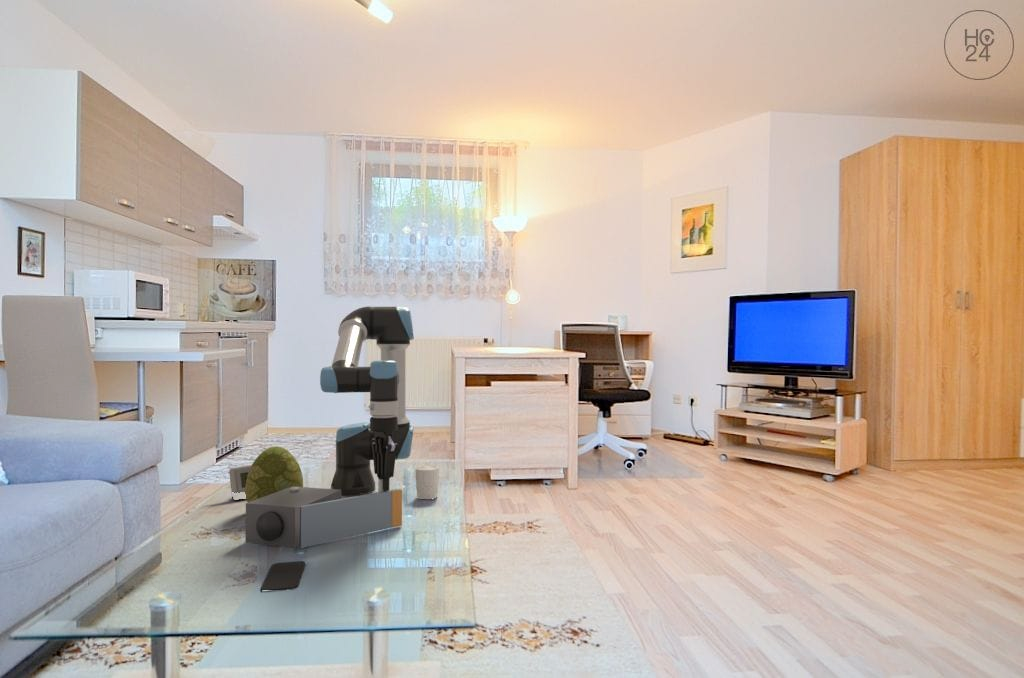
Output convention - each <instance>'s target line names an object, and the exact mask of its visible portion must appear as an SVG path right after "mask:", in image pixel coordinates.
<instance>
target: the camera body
mask: <svg viewBox="0 0 1024 678" xmlns="http://www.w3.org/2000/svg"><path fill="white" fill-rule="evenodd" d="M338 499H342V495H341V490H337V489H331V488H324V487H323V488H320V487H307V486H306V487H305V486H303V487H295V486H292V487H289V488H287V489H284V490H281V491H278V492H276V493H273V494H270V495H267V496H264V497H262V498H259V499H256V500H253V501H251V502H248V503H247V502H246V503H245V543H250V544H259V545H269V546H278V547H287V548H295V506H304V505H309V504H315V503H321V502H326V501H332V500H338Z"/></svg>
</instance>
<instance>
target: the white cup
mask: <svg viewBox="0 0 1024 678" xmlns="http://www.w3.org/2000/svg"><path fill="white" fill-rule="evenodd" d="M414 469H415V484H416V485H415V487H416V498H417V497H418V498H421V499H432V498H435V499H437V498H438V495H439V494H438V493H439V492H438V490H439V481H440V480H439V478H440V477H439V476H440V475H439V474H440V467H439V466H438V465H433V464H432V465H431V464H429V465H428V464H426V465H425V464H424V465H419V466H417V467H416V466H415V468H414ZM436 497H437V498H436ZM418 498H417V499H418ZM432 500H433V499H432Z"/></svg>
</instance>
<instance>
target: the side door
mask: <svg viewBox="0 0 1024 678" xmlns="http://www.w3.org/2000/svg"><path fill="white" fill-rule="evenodd" d="M401 526H403V489H401V488H396V489H395V488H394V489H391V490H389V491H383V492H378V491H377V492H371V493H366V494H361V495H354V496H350V497H344V498H341V499H338V500H332V501H326V502H321V503H315V504H309V505H304V506H295V547H294V549H295V550H300V549H302V548H303V549H304V548H306V547H310V546H316V545H320V544H323V543H324V544H325V543H329V542H333V541H338V540H342V539H347V538H351V537H355V536H360V535H361V536H362V535H365V534H369V533H374V532H379V531H383V530H387V529H391V528H392V529H393V528H396V527H401Z"/></svg>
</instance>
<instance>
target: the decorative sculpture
mask: <svg viewBox="0 0 1024 678" xmlns="http://www.w3.org/2000/svg"><path fill="white" fill-rule="evenodd" d="M251 465H252V466H251V468H250V470H249V473H248V476H247V479H246V486H245V494H246V500H245V501H246V503H248V502H251V501H253V500H256V499H259V498H262V497H264V496H267V495H270V494H273V493H276V492H278V491H281V490H284V489H287V488H289V487H292V486H295V487H304V477H303V474H302V470H301V467H300V464H299V463H298V461H297V459H296V458H295V457H294V455H293V454H292V453H291V452H290V451H289V450H288V449H286V448H284V447H282V446H277V445H275V446H274V445H273V446H270V447H268V448H266V449H264V450H263V451H261V452H260V454H259V455H258V456H257V457H256V458H255V459H254V461H253V462H252V463H251Z"/></svg>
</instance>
